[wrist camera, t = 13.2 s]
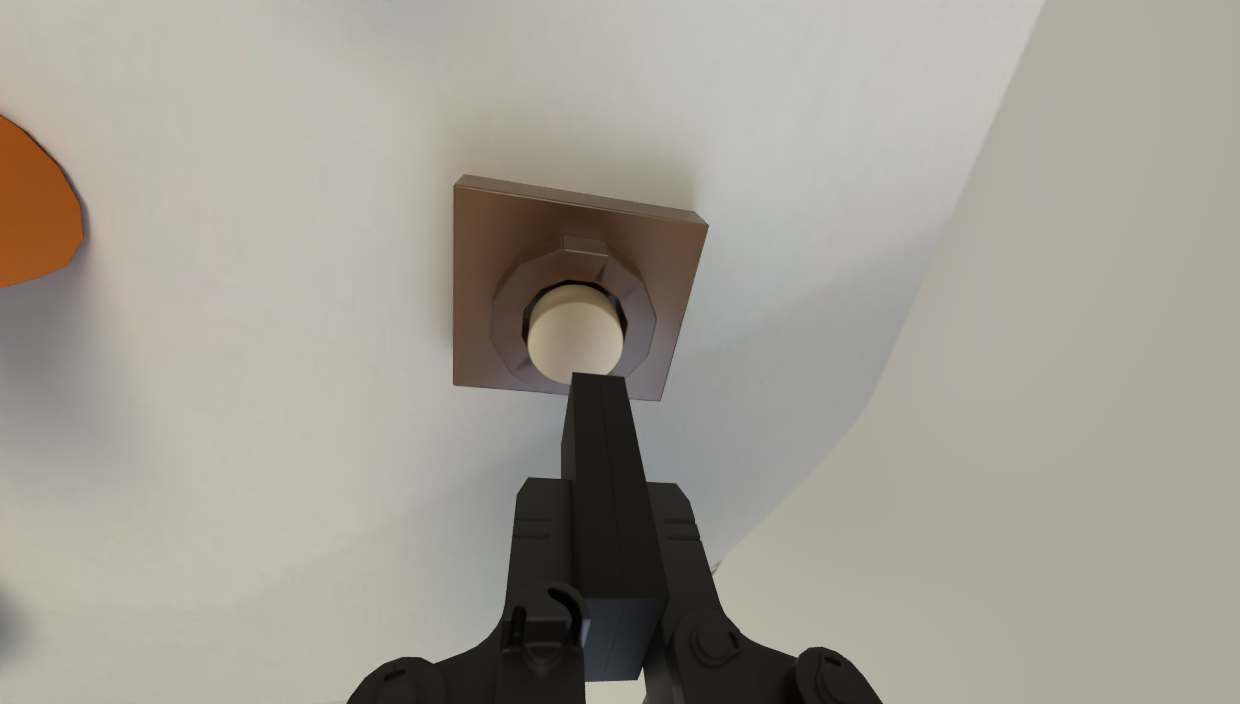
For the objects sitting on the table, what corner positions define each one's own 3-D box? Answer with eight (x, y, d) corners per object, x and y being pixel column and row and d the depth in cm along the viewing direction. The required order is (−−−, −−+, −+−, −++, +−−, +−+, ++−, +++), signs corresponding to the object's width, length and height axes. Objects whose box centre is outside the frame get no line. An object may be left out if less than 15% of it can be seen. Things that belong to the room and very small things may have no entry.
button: (625, 289, 18) (632, 308, 17) (610, 366, 20) (614, 389, 18) (533, 278, 17) (531, 296, 16) (526, 358, 19) (523, 381, 18)
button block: (695, 211, 20) (723, 237, 17) (652, 377, 25) (668, 425, 21) (463, 173, 19) (442, 194, 15) (460, 361, 23) (444, 410, 19)
